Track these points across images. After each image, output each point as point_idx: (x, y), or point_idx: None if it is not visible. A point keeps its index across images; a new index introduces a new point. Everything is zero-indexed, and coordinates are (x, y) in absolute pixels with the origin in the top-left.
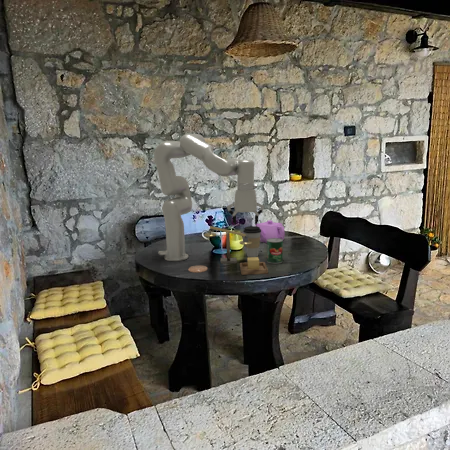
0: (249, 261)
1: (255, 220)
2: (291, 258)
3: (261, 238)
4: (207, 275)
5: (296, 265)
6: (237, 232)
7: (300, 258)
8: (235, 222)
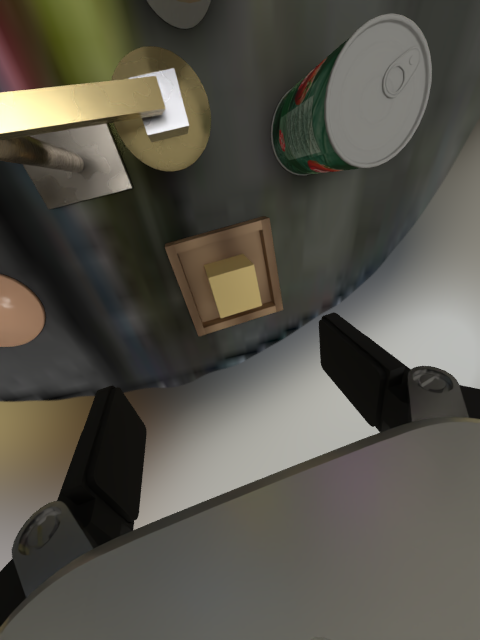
0: (224, 314)
1: (343, 392)
2: None
3: None
4: (84, 358)
5: (378, 192)
6: (69, 108)
7: None
8: (140, 453)
